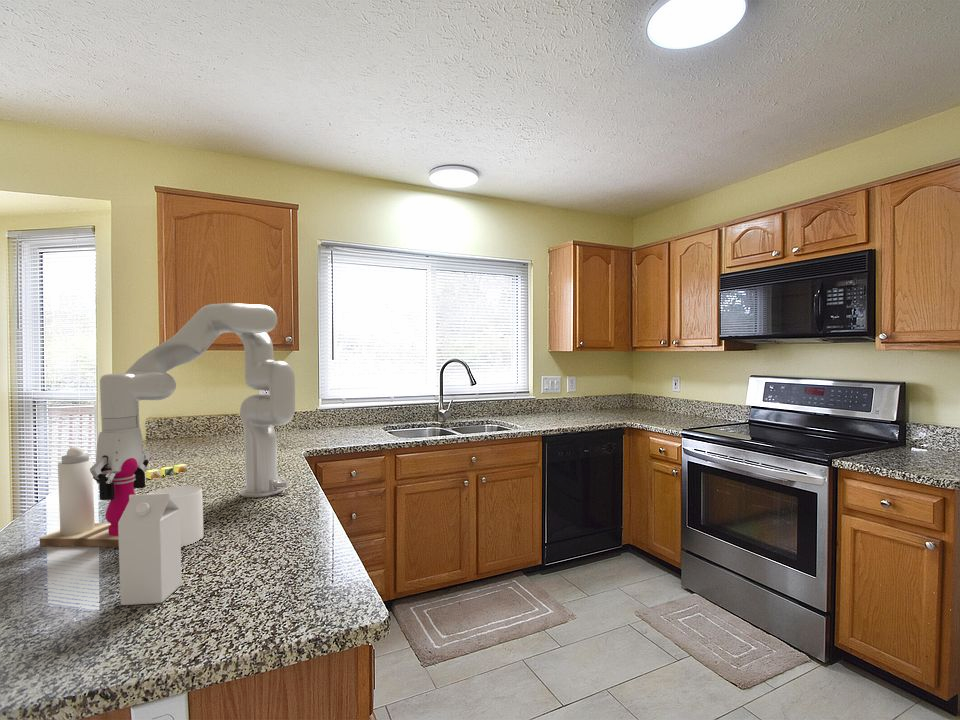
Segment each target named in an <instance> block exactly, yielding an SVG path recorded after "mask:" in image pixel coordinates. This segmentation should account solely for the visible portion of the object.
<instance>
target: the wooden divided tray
mask: <svg viewBox="0 0 960 720" xmlns="http://www.w3.org/2000/svg"><path fill="white" fill-rule="evenodd" d="M94 523H95V528H94V529H92V530H90V531H88V532H84V533H80V534H75V535H61V534H60V529H57V530H56V531H53V532H50V533H48V534H45V535H43V536H40V537H39V547H66V548H67V547H69V548H70V547H71V548H72V547H77V548H78V547H79V548H81V547H83V548H87V547H86V546H101V547H100V548H119V536H112V535H109V526H110V525H111V524H110V523H109V522H108V523H107V522H105V523H100V522H99V523H96V522H94ZM84 546H85V547H84Z"/></svg>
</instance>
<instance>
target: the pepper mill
mask: <svg viewBox="0 0 960 720" xmlns="http://www.w3.org/2000/svg"><path fill="white" fill-rule="evenodd" d="M137 467H138V464H137V461H136V459H134V458H129V459H127V460H126V461H125V462H124V463H123V465H122V468H121V471H120V472H119V473H116V474H115V476H114V478H113V480H112V482H111V483H114V496H115V498H114V499H113V500H109V501H110V502H109V503H108V506H107V508H106V512H105V520H106V521H107V522H108V523H110V524H111V525H110V526H109V535H112V536H119V535H118V522H119V520H120V518H121V516H122V514H123V512H124V510H125V508H126V506H127V504H128V502H129V495H136V492H135V488H134V487H133V484H134V481H135V480H136V479H135V474H134V472H135V471H136V470H137ZM108 470H112V469H111V468H109V469H108Z"/></svg>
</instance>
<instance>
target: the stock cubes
mask: <svg viewBox="0 0 960 720" xmlns="http://www.w3.org/2000/svg"><path fill="white" fill-rule="evenodd" d="M185 471H187V472H188V464H185V463H180V464H175V465H173V466H165V467H161V468H160V469H158V468H157V469H150V470H146V471H145V480H146V481H147V479H146V478H149V479H153V478H158V477H160V478H161V475H164V476H166V475H171V474H174V475H175V473H174V472H177V473H180V472H185ZM158 479H159V478H158Z"/></svg>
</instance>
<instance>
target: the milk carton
mask: <svg viewBox="0 0 960 720" xmlns="http://www.w3.org/2000/svg"><path fill="white" fill-rule="evenodd" d="M118 535H119V547H118V556H119V557H118V561H119V563H118V565H119V566H118V567H119V589H120V590H119V593H120V594H119V597H120V605H121V606H131V605H132V606H133V605H148V604H162V603H163V602H165V600H167V599H168V598H169V597H170V596H171V595H172V594H173V593H174V592H176V590H177V589H178V588H180V587H181V586H182V585H183V584H182V583H183V581H182V579H183V578H182V548H181V540H180V509H179V508H178V507H177V506H176V505H175V504H174V503H173V502H172V501H171V500H170V494H169V493H168V494H148V493H147V494H146V493H145V494H135V495H129V502H128V504H127V506H126V508H125V510H124V512H123V514H122V516H121V518H120V520H119V522H118Z"/></svg>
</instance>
